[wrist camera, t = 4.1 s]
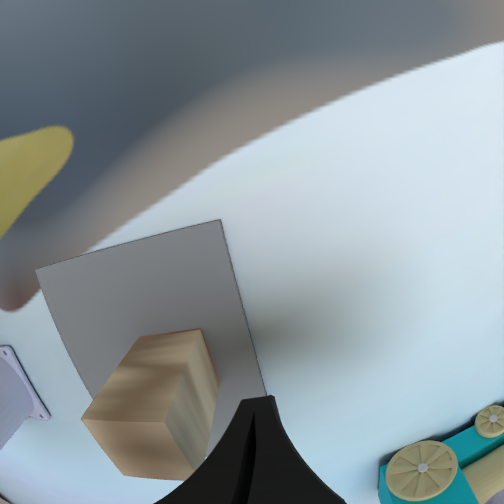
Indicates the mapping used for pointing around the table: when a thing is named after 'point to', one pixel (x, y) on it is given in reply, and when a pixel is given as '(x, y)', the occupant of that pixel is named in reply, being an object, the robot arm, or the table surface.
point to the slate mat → (155, 309)
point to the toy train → (449, 466)
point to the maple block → (158, 407)
